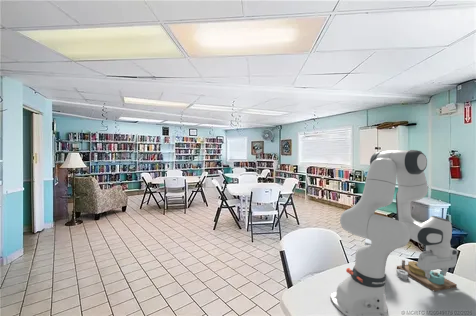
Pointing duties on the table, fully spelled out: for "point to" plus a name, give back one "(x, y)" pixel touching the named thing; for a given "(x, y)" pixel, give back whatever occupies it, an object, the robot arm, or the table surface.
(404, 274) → the grey gear
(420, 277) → the gear board
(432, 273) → the teal gear
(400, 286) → the table surface
